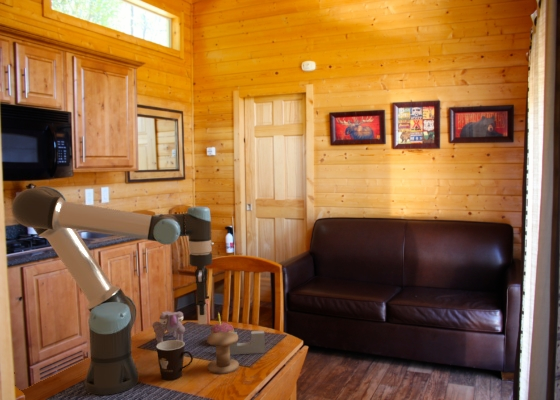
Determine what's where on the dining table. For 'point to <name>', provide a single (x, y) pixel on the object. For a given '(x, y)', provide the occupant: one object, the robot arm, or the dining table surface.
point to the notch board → (250, 344)
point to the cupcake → (221, 327)
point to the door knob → (222, 353)
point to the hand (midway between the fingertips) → (203, 320)
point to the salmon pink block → (207, 312)
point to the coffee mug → (171, 359)
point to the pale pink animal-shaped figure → (169, 325)
